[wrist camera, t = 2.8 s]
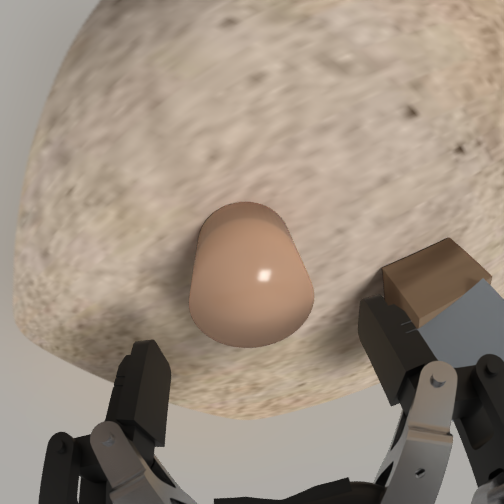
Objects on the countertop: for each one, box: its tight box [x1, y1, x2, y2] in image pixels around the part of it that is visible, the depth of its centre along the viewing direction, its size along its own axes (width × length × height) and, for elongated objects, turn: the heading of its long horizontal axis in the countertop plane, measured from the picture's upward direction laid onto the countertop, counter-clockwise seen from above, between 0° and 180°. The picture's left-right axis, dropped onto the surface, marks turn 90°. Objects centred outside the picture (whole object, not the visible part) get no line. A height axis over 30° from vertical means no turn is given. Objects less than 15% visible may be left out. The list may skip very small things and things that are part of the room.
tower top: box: [417, 278, 504, 421], centre depth 12 cm, size 6×6×5 cm
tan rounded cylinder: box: [189, 202, 314, 348], centre depth 13 cm, size 5×5×5 cm
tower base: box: [382, 238, 492, 329], centre depth 16 cm, size 6×6×5 cm
